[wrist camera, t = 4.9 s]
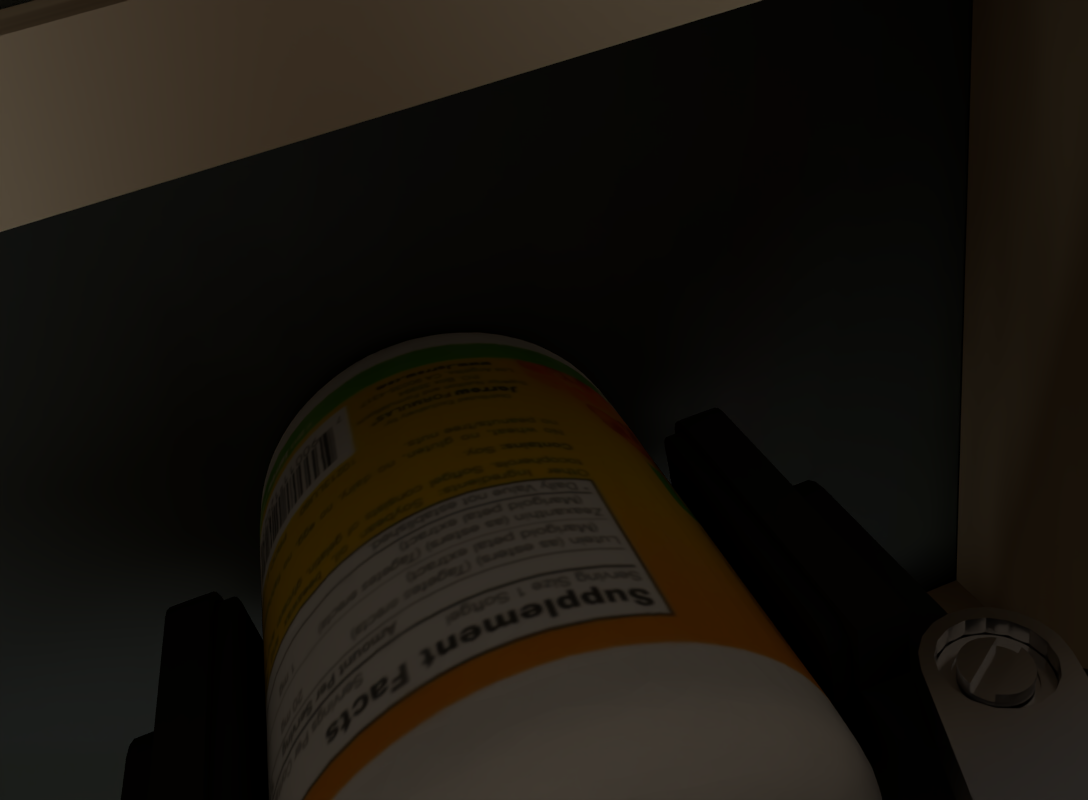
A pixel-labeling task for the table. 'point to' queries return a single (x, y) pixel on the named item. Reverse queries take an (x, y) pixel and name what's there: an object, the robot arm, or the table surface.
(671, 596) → the supplement bottle
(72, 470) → the table surface
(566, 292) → the table surface
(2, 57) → the brown wooden tray
